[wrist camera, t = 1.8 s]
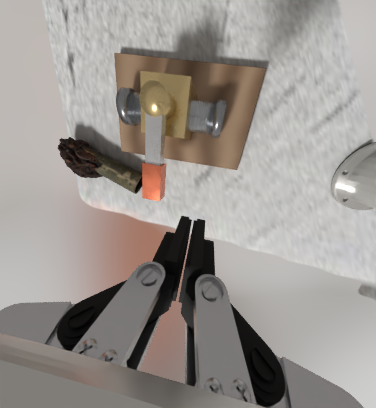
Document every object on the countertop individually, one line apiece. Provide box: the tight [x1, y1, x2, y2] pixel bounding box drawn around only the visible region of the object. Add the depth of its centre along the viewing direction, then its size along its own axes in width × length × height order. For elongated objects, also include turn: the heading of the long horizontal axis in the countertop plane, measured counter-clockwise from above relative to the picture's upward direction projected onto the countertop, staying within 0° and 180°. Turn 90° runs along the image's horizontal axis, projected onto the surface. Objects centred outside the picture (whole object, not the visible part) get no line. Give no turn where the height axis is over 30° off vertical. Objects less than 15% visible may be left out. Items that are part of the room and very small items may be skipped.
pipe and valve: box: [116, 71, 227, 140], centre depth 21 cm, size 16×7×7 cm, turn 82°
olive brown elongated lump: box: [58, 137, 142, 194], centre depth 30 cm, size 18×7×6 cm, turn 62°
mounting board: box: [114, 53, 266, 170], centre depth 25 cm, size 24×15×2 cm, turn 82°
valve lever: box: [139, 80, 175, 201], centre depth 18 cm, size 14×3×3 cm, turn 172°
